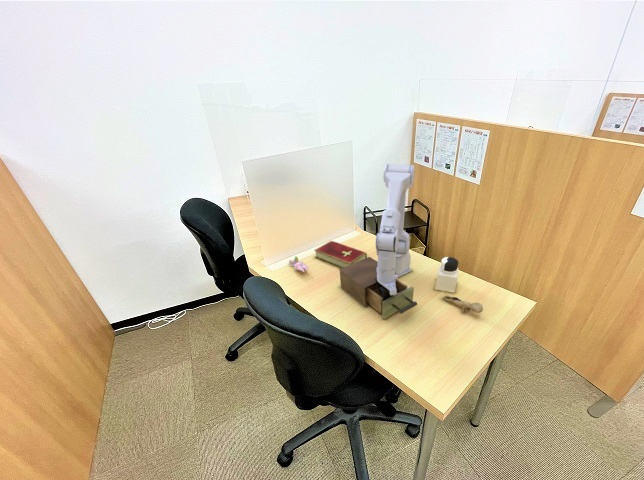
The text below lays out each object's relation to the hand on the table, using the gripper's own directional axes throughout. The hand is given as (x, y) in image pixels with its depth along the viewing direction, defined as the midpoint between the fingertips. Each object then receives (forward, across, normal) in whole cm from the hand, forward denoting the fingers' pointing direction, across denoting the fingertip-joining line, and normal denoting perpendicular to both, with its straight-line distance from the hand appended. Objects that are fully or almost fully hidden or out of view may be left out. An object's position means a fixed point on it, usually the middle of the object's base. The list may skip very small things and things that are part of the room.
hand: (385, 299), depth 102 cm
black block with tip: (+1, 0, -1) cm, 2 cm away
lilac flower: (+3, +35, +27) cm, 45 cm away
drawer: (+2, 0, -2) cm, 3 cm away
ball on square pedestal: (+3, +5, -27) cm, 27 cm away
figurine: (+3, -9, -25) cm, 27 cm away
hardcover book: (+3, +38, +8) cm, 39 cm away
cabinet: (+3, +12, +3) cm, 13 cm away
